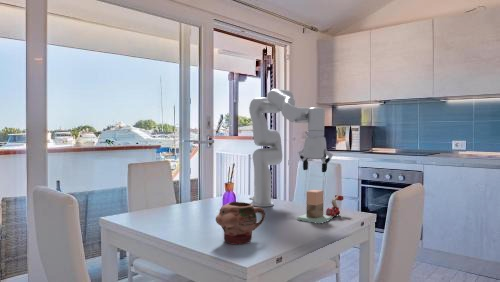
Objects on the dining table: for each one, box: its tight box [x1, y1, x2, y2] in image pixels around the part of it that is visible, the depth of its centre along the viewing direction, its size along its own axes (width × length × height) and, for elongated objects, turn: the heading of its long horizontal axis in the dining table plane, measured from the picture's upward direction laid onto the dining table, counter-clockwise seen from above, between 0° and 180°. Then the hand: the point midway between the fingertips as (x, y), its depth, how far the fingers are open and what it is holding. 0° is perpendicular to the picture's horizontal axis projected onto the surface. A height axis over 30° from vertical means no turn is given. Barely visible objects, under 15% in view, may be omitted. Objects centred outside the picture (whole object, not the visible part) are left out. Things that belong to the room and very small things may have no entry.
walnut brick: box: [306, 203, 324, 218], centre depth 174 cm, size 5×7×6 cm
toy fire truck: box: [325, 194, 344, 218], centre depth 182 cm, size 3×14×10 cm, turn 143°
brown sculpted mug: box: [215, 201, 266, 245], centre depth 139 cm, size 20×12×14 cm, turn 121°
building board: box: [296, 213, 334, 224], centre depth 174 cm, size 12×12×2 cm
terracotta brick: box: [305, 189, 324, 205], centre depth 174 cm, size 5×7×6 cm
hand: (314, 170), depth 174 cm, fingers open, 9 cm apart
